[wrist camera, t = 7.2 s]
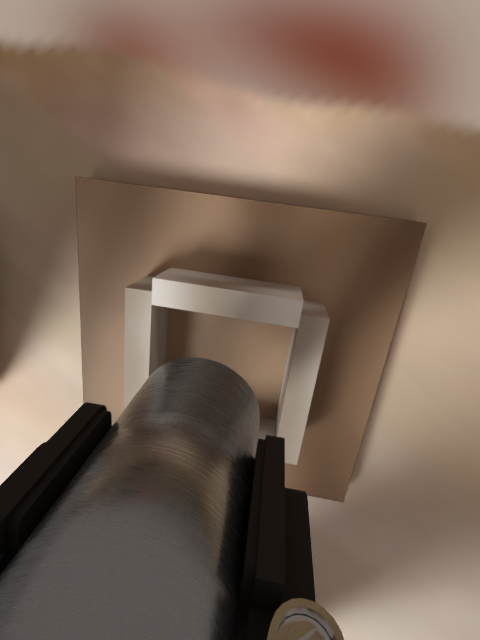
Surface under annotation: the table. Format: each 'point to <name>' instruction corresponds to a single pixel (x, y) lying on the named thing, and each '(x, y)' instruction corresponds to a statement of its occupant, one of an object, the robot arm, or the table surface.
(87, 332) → the docking plate
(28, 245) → the table surface
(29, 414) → the table surface
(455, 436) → the table surface
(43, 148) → the table surface
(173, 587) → the gold topped cylinder
